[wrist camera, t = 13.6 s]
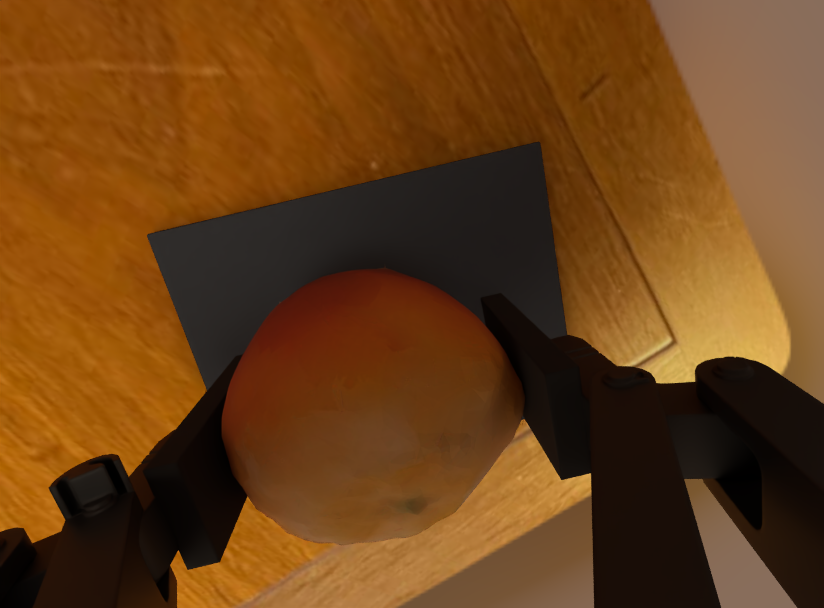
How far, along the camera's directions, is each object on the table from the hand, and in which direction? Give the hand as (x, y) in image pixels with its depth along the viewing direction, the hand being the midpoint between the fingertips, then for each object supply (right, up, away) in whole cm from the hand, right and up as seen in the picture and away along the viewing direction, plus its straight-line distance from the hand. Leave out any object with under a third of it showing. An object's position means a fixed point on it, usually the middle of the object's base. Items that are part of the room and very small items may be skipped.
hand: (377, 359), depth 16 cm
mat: (0, +1, +4) cm, 4 cm away
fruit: (0, 0, 0) cm, 0 cm away
